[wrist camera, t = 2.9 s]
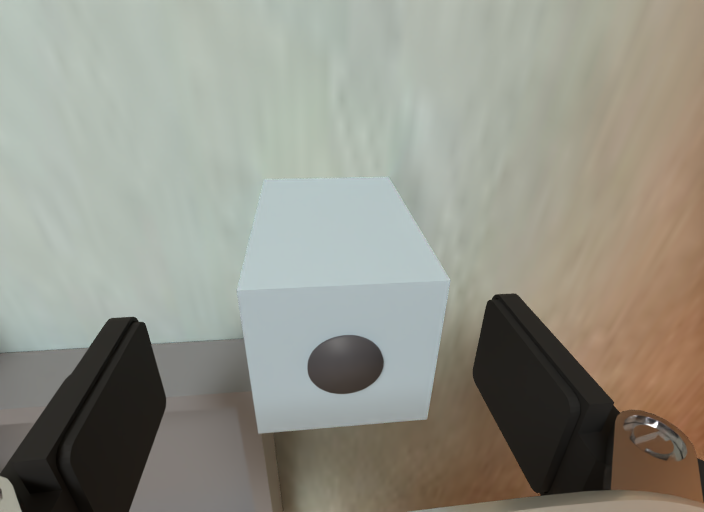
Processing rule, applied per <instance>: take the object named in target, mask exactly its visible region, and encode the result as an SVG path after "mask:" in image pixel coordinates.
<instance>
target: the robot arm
mask: <svg viewBox="0 0 704 512" xmlns="http://www.w3.org/2000/svg"><path fill="white" fill-rule="evenodd" d="M473 378H474V382H475V384H476V386H477V388H478V389H479V391H480V393H481V395H482V397H483V399H484V401H485V402H486V404H487V406H488V408H489V410H490V412H491V414H492V415H493V417H494V419H495V421H496V423H497V425H498V427H499V428H500V430H501V432H502V434H503V436H504V438H505V440H506V442H507V443H508V445H509V447H510V449H511V451H512V453H513V455H514V456H515V458H516V460H517V462H518V464H519V466H520V468H521V469H522V471H523V473H524V475H525V477H526V479H527V481H528V482H529V484H530V486H531V488H532V489H533V490H534V491H535V492H536V493H540V494H541V496H534V497H525V498H516V499H508V500H499V501H491V502H483V503H475V504H466V505H458V506H450V507H442V508H433V509H425V510H417V511H409V512H704V461H703V460H700V459H698V458H697V454H696V451H695V448H694V446H693V444H692V443H691V441H690V440H689V439H688V437H687V436H686V435H685V434H684V433H683V432H682V431H681V430H679V429H678V428H677V427H676V426H674V425H673V424H671V423H670V422H668V421H667V420H665V419H663V418H661V417H659V416H657V415H655V414H652V413H648V412H645V411H641V410H627V411H623V412H621V413H620V412H619V411H618V410H617V409H616V408H615V407H614V405H613V404H614V402H613V400H612V399H611V398H610V397H609V396H608V395H607V394H606V393H605V392H604V390H603V389H602V388H601V387H600V386H599V385H598V384H597V383H596V381H595V380H594V379H593V378H592V377H591V376H590V375H589V374H588V373H587V371H586V370H585V369H584V368H583V367H582V366H581V365H580V364H579V363H578V361H577V360H576V359H575V358H574V357H573V356H572V355H571V354H570V353H569V351H568V350H567V349H566V348H565V347H564V346H563V345H562V344H561V343H560V341H559V340H558V339H557V338H556V337H555V336H554V335H553V334H552V333H551V331H550V330H549V329H548V328H547V327H546V326H545V325H544V324H543V323H542V321H541V320H540V319H539V318H538V317H537V316H536V315H535V314H534V313H533V311H532V310H531V309H530V308H529V307H528V306H527V305H526V304H525V303H524V301H523V300H522V299H521V298H520V297H519V296H518V295H517V294H497V295H494V297H493V298H492V300H489V301H488V302H487V305H486V309H485V314H484V319H483V324H482V328H481V333H480V338H479V343H478V347H477V352H476V357H475V362H474V367H473ZM165 408H166V395H165V391H164V388H163V384H162V381H161V377H160V374H159V370H158V367H157V363H156V359H155V356H154V352H153V349H152V345H151V342H150V338H149V335H148V331H147V328H146V325H145V323H144V322H138V320H137V318H136V317H123V318H111V319H109V320H108V321H107V322H106V324H105V325H104V327H103V328H102V329H101V331H100V332H99V334H98V335H97V337H96V338H95V340H94V341H93V343H92V344H91V346H90V347H89V349H88V350H87V351H86V353H85V354H84V356H83V357H82V359H81V360H80V362H79V363H78V365H77V366H76V368H75V369H74V371H73V372H72V373H71V375H69V376H68V377H67V378H66V379H65V380H64V382H63V383H62V384H61V386H60V387H59V389H58V390H57V392H56V393H55V395H54V396H53V397H52V399H51V400H50V402H49V403H48V405H47V406H46V408H45V409H44V411H43V412H42V413H41V415H40V416H39V418H38V419H37V421H36V422H35V424H34V425H33V427H32V428H31V429H30V431H29V432H28V434H27V435H26V437H25V438H24V440H23V441H22V442H21V444H20V445H19V447H18V448H17V450H16V451H15V453H14V454H13V456H12V457H11V458H10V460H9V461H8V463H7V464H6V466H5V467H4V469H3V470H2V471H1V473H0V512H129V510H130V507H131V505H132V502H133V499H134V496H135V493H136V491H137V488H138V485H139V482H140V479H141V476H142V474H143V471H144V468H145V465H146V462H147V460H148V457H149V454H150V451H151V448H152V446H153V443H154V440H155V437H156V434H157V431H158V429H159V426H160V423H161V420H162V417H163V415H164V412H165Z"/></svg>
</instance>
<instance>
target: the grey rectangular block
mask: <svg viewBox="0 0 704 512" xmlns="http://www.w3.org/2000/svg"><path fill="white" fill-rule="evenodd" d="M449 286H450V279H449V277H448V276H447V274H446V272H445V271H444V269H443V267H442V265H441V264H440V262H439V260H438V259H437V257H436V255H435V254H434V252H433V250H432V249H431V247H430V245H429V244H428V242H427V240H426V239H425V237H424V235H423V234H422V232H421V230H420V229H419V227H418V225H417V224H416V222H415V220H414V219H413V217H412V215H411V214H410V212H409V210H408V209H407V207H406V205H405V203H404V202H403V200H402V198H401V197H400V195H399V193H398V192H397V190H396V188H395V187H394V185H393V183H392V182H391V180H390V178H389V177H349V178H294V179H264V182H263V186H262V190H261V194H260V198H259V202H258V206H257V210H256V214H255V218H254V222H253V226H252V230H251V234H250V238H249V243H248V247H247V251H246V255H245V259H244V263H243V267H242V271H241V275H240V279H239V283H238V287H237V296H238V303H239V309H240V316H241V323H242V329H243V336H244V342H245V349H246V356H247V362H248V369H249V375H250V382H251V388H252V395H253V402H254V408H255V415H256V421H257V428H258V434H261V433H273V432H284V431H296V430H308V429H320V428H331V427H343V426H355V425H367V424H378V423H390V422H402V421H414V420H425V419H427V417H428V411H429V405H430V399H431V393H432V387H433V381H434V375H435V369H436V363H437V357H438V351H439V346H440V340H441V334H442V328H443V322H444V316H445V310H446V304H447V298H448V292H449Z"/></svg>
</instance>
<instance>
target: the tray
mask: <svg viewBox="0 0 704 512" xmlns="http://www.w3.org/2000/svg"><path fill="white" fill-rule="evenodd" d="M151 345H152V349H153V352H154V356H155V359H156V363H157V367H158V370H159V374H160V377H161V381H162V384H163V388H164V391H165V395H166V408H165V412H164V415H163V417H162V420H161V423H160V426H159V429H158V431H157V434H156V437H155V440H154V443H153V446H152V448H151V451H150V454H149V457H148V460H147V462H146V465H145V468H144V471H143V474H142V476H141V479H140V482H139V485H138V488H137V491H136V493H135V496H134V499H133V502H132V505H131V507H130V510H129V512H283V507H282V499H281V491H280V483H279V474H278V466H277V458H276V450H275V442H274V434H273V433H261V434H258V428H257V421H256V415H255V408H254V402H253V395H252V388H251V382H250V375H249V369H248V362H247V356H246V349H245V342H244V339H230V340H213V341H196V342H180V343H163V344H151ZM88 349H89V348H79V349H62V350H45V351H28V352H11V353H0V473H1V471H2V470H3V469H4V467H5V466H6V464H7V463H8V461H9V460H10V458H11V457H12V456H13V454H14V453H15V451H16V450H17V448H18V447H19V445H20V444H21V442H22V441H23V440H24V438H25V437H26V435H27V434H28V432H29V431H30V429H31V428H32V427H33V425H34V424H35V422H36V421H37V419H38V418H39V416H40V415H41V413H42V412H43V411H44V409H45V408H46V406H47V405H48V403H49V402H50V400H51V399H52V397H53V396H54V395H55V393H56V392H57V390H58V389H59V387H60V386H61V384H62V383H63V382H64V380H65V379H66V378H67V377H68V376H69V375H71V373H72V372H73V371H74V369H75V368H76V366H77V365H78V363H79V362H80V360H81V359H82V357H83V356H84V354H85V353H86V351H87V350H88Z"/></svg>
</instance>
